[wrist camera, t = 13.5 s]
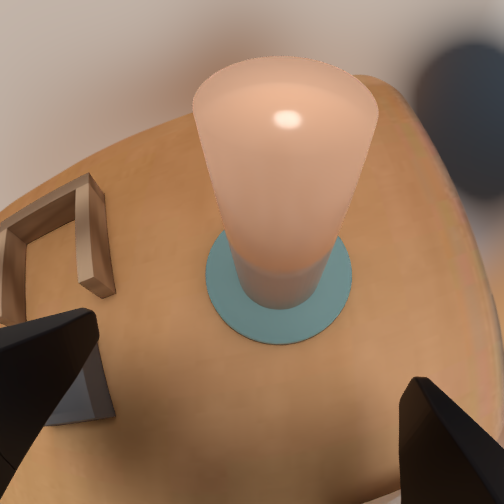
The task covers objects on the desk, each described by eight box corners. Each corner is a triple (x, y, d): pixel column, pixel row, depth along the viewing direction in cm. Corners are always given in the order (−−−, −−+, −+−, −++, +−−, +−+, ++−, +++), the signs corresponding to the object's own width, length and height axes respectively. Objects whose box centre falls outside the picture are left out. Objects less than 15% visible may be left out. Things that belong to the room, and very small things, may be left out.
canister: (237, 311, 17) (178, 163, 6) (238, 235, 19) (203, 61, 8) (324, 307, 16) (404, 159, 6) (315, 232, 19) (350, 59, 8)
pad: (259, 374, 16) (259, 374, 15) (183, 256, 19) (180, 253, 19) (376, 287, 17) (379, 283, 17) (292, 192, 21) (292, 186, 20)
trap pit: (116, 416, 15) (95, 417, 12) (52, 425, 14) (29, 426, 12) (94, 329, 17) (74, 320, 15) (36, 348, 16) (15, 341, 14)
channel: (115, 293, 18) (93, 276, 16) (17, 330, 17) (-7, 320, 14) (104, 194, 22) (88, 172, 19) (19, 238, 21) (0, 222, 18)
